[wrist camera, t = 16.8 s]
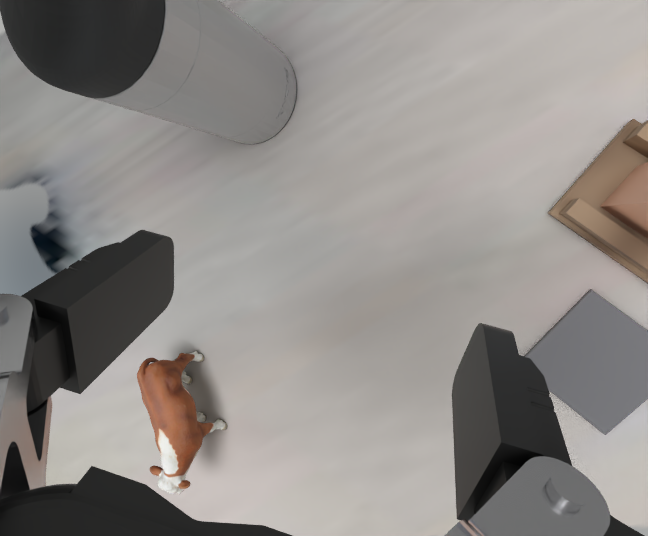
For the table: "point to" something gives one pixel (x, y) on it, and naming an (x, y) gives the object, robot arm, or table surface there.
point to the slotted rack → (595, 187)
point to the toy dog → (173, 418)
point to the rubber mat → (595, 362)
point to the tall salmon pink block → (631, 200)
